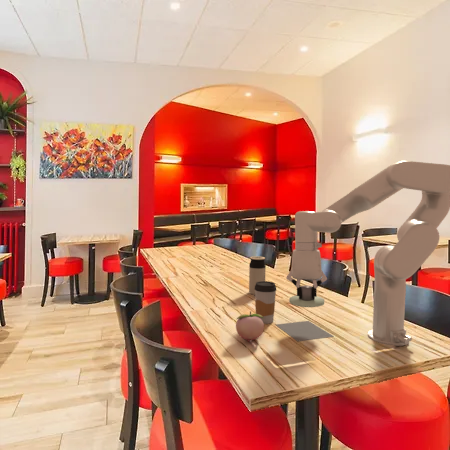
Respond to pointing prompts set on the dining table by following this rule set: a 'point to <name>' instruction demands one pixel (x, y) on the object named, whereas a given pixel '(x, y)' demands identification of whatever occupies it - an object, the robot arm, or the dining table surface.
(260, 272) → the travel mug
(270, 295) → the coffee cup
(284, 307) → the dining table surface
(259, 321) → the decorative fruit
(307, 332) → the mat
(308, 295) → the lid
